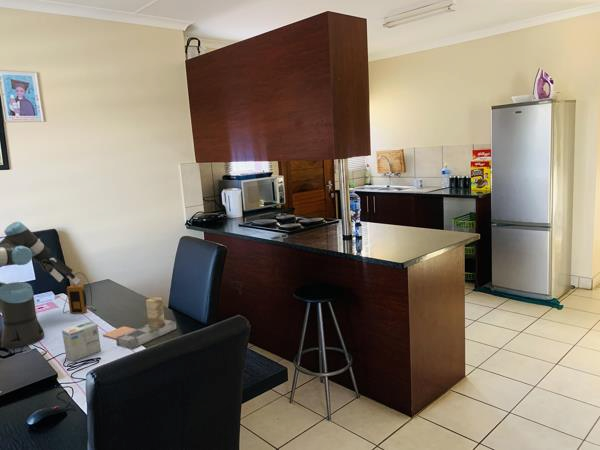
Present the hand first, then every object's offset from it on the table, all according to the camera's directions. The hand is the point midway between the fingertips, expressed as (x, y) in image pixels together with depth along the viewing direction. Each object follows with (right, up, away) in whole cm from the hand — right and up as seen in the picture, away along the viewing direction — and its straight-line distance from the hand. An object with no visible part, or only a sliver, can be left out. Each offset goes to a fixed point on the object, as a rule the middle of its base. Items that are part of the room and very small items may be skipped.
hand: (69, 281), depth 214 cm
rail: (+47, -18, -32) cm, 60 cm away
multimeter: (+3, -15, +6) cm, 17 cm away
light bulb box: (+28, -22, -45) cm, 57 cm away
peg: (+50, -18, -28) cm, 60 cm away
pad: (+35, -18, -27) cm, 48 cm away
